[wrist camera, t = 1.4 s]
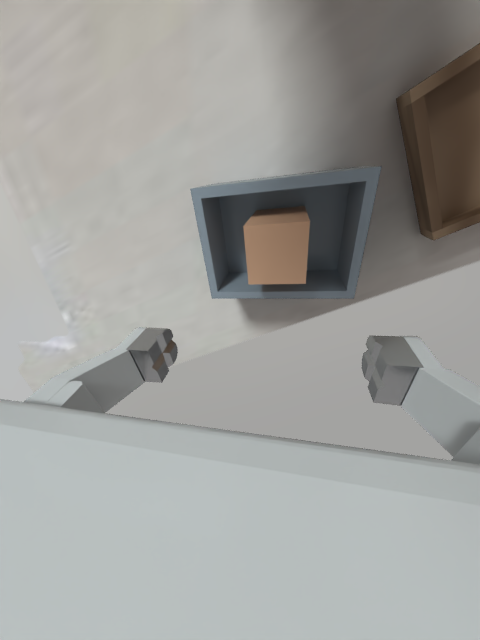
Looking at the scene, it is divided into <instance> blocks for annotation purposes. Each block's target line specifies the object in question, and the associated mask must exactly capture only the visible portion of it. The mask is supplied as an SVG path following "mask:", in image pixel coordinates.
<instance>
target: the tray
mask: <svg viewBox="0 0 480 640" xmlns="http://www.w3.org/2000/svg"><path fill="white" fill-rule="evenodd" d="M396 101H397V107H398V112H399V117H400V123H401V128H402V134H403V139H404V145H405V150H406V156H407V161H408V167H409V172H410V177H411V183H412V188H413V194H414V199H415V205H416V210H417V216H418V221H419V226H420V232H421V234H422V235H424V236H426V237H427V238H429V239H431V240H433V241H434V240H436V239H439V238H441V237H444V236H446V235H449V234H451V233H454V232H456V231H459V230H461V229H464V228H466V227H469V226H471V225H474V224H476V223H479V222H480V43H479V44H478V45H476V46H475V47H473V48H472V49H470V50H469V51H467V52H466V53H464V54H463V55H461V56H460V57H458V58H457V59H455V60H454V61H452V62H451V63H449V64H448V65H446V66H445V67H443V68H442V69H440V70H439V71H437V72H436V73H434V74H433V75H431V76H430V77H428V78H427V79H425V80H424V81H422V82H421V83H419V84H418V85H416V86H415V87H413V88H412V89H410V90H409V91H407V92H406V93H404V94H403V95H401V96H400V97H398V98H397V99H396Z"/></svg>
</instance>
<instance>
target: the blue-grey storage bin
mask: <svg viewBox="0 0 480 640" xmlns="http://www.w3.org/2000/svg"><path fill="white" fill-rule="evenodd" d="M380 171H381V166H371V167H352V168H344V169H335V170H327V171H319V172H310V173H302V174H294V175H285V176H277V177H269V178H260V179H252V180H244V181H235V182H227V183H218V184H211V185H206V186H201V187H197V188H192V189H190V190H191V195H192V200H193V205H194V210H195V215H196V220H197V225H198V230H199V235H200V240H201V245H202V250H203V255H204V261H205V266H206V271H207V276H208V281H209V286H210V291H211V296H212V298H354V296H355V291H356V286H357V282H358V277H359V272H360V267H361V262H362V258H363V253H364V248H365V243H366V238H367V234H368V229H369V224H370V219H371V214H372V210H373V205H374V200H375V195H376V190H377V186H378V181H379V176H380ZM297 206H305V208H306V211H307V214H308V217H309V220H310V228H309V243H308V258H307V273H306V284H253V285H249V284H248V273H247V262H246V251H245V240H244V229H243V226H244V225H245V223H246V222H247V221H248V220H249V219H250V217H251V216H252V215H253V214H254V213H255V211H256V210H263V209H275V208H286V207H297Z"/></svg>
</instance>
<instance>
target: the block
mask: <svg viewBox="0 0 480 640" xmlns="http://www.w3.org/2000/svg"><path fill="white" fill-rule="evenodd" d="M309 228H310V220H309V217H308V214H307V211H306V208H305V206H297V207H286V208H275V209H263V210H256V211H255V213H254V214H253V215H252V216H251V217H250V219H249V220H248V221H247V222H246V223H245V225H244V226H243V229H244V240H245V251H246V262H247V273H248V284H249V285H253V284H306V273H307V258H308V243H309Z"/></svg>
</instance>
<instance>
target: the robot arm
mask: <svg viewBox="0 0 480 640" xmlns="http://www.w3.org/2000/svg"><path fill="white" fill-rule="evenodd" d="M172 338H173V334H172V332H171V330H170V329H165V328H147V327H139V328H136V329H135V330H134V331H133V332H132V333H131V334H130V335H129V336H128V337H127V338H126V339H125V340H124V341H123V342H122V343H121V344H120V345H119V346H118V347H117V348H116V349H111V350H109V351H107V352H105V353H103V354H101V355H99V356H97V357H94V358H92V359H90V360H88V361H86V362H84V363H82V364H80V365H78V366H75V367H73V368H71V369H69V370H67V371H65V372H63V373H61V374H59V375H56V376H54V377H52V378H51V379H50V380H49V381H47V382H46V383H45V384H44V385H43V386H42V387H40V388H39V389H38V390H37V391H36V392H35V393H34V394H32V395H31V396H30V397H29V398H28V399H27V400H25V401H24V402H18V401H11V400H3V399H0V640H480V386H479V385H478V384H476V383H474V382H472V381H470V380H468V379H467V378H465V377H463V376H461V375H459V374H457V373H456V372H454V371H452V370H449V369H444V368H443V366H442V365H441V364H440V363H439V361H438V360H437V359H436V357H435V356H434V355H433V353H432V352H431V351H430V350H429V348H428V347H427V346H426V345H425V343H424V342H423V341H422V339H421V338H419V337H417V336H400V337H395V336H369V338H368V339H367V343H366V345H367V348H368V350H367V351H366V352H365V353H364V354H363V358H362V370H363V374H364V377H365V378H366V379H367V380H368V381H369V386H368V389H369V391H370V394H371V397H372V399H373V402H375V403H383V404H392V405H400V406H401V408H403V409H404V410H405V411H406V412H407V413H408V414H409V415H410V416H411V417H412V418H413V419H414V420H415V421H416V422H417V423H418V424H419V425H420V426H421V427H422V428H423V429H425V430H426V431H427V432H428V433H429V434H430V435H431V436H432V437H433V438H434V439H435V440H436V441H437V442H438V443H440V445H441V446H442V447H443V448H444V449H445V450H447V451H448V452H449V453H450V454H451V455H452V456H453V457H454V458H453V459H452V460H443V459H436V458H428V457H420V456H414V455H407V454H399V453H392V452H385V451H378V450H370V449H363V448H355V447H348V446H341V445H333V444H326V443H318V442H311V441H303V440H296V439H288V438H281V437H274V436H267V435H259V434H252V433H245V432H237V431H230V430H223V429H216V428H208V427H201V426H194V425H187V424H179V423H172V422H164V421H157V420H150V419H142V418H135V417H128V416H121V415H113V414H106V413H105V412H107V411H108V410H109V409H110V408H112V407H113V406H114V405H116V404H117V403H118V402H120V401H121V400H122V399H124V398H125V397H126V396H127V395H129V394H130V393H131V392H133V391H134V390H135V389H137V388H138V387H139V386H140V385H142V384H143V383H144V381H145V382H161V383H162V382H163V380H164V378H165V377H166V375H167V373H168V372H169V369H168V367H169V366H171V365H172V364H174V362H175V360H176V358H177V353H178V352H177V346H176V344H175V343H174V342H173V341H172Z"/></svg>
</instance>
